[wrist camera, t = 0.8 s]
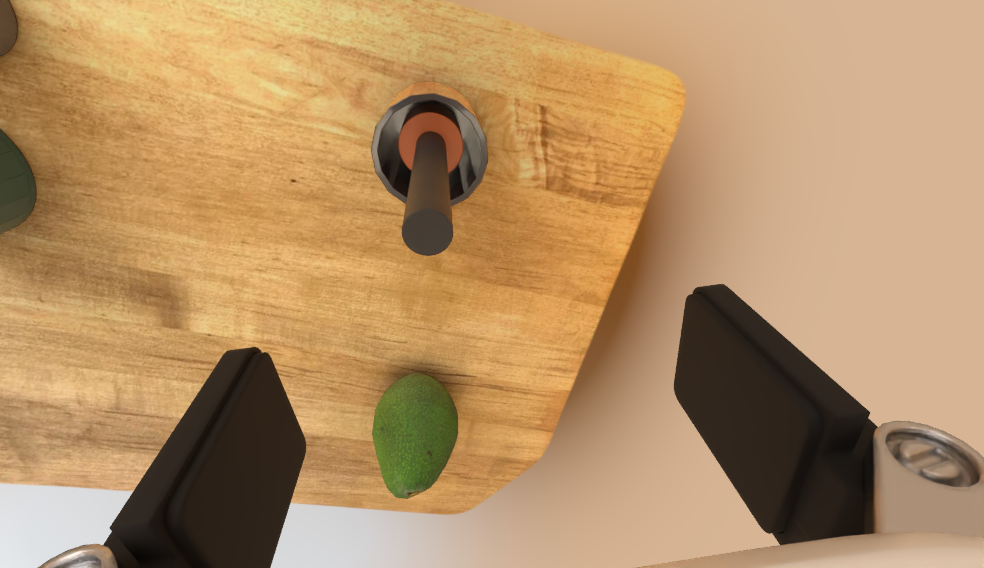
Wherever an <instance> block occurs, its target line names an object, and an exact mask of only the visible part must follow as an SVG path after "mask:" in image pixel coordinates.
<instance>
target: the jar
mask: <svg viewBox="0 0 984 568" xmlns="http://www.w3.org/2000/svg"><path fill="white" fill-rule="evenodd" d="M35 200H36V186H35V181H34V177H33V174H32V172H31V169H30V167H29V165H28V163H27V161H26V160H25V158H24V156H23V155H22V153H21V152H20V151H19V149H18V148H17V147H16V146H15V144H14V143H13V142H12V141H11V140H10V139H9V138H8V137H7V136H6V135H5V134H4V133H3V132H2V131H1V130H0V234H1V233H3V232H5V231H8V230H10V229H12V228H14V227H16V226H17V225H19V224H21V223H22V222H23V221H25V220H26V218H27V217H28V216H29V215H30V213H31V211H32V210H33V207H34V204H35Z"/></svg>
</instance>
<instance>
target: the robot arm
mask: <svg viewBox="0 0 984 568" xmlns="http://www.w3.org/2000/svg"><path fill="white" fill-rule="evenodd" d="M678 352H679V353H678V359H677V366H676V373H675V380H674V391H675V395H676V397H677V400H678V401H679V403H680V404H681V406H682V407H683V409H684V410H685V412H686V414H687V415H688V417H689V418H690V420H691V421H692V423H693V424H694V426H695V427H696V429H697V430H698V432H699V433H700V435H701V436H702V438H703V439H704V441H705V443H706V444H707V446H708V447H709V449H710V450H711V452H712V453H713V455H714V456H715V458H716V460H717V461H718V463H719V464H720V465H721V467H722V469H723V470H724V472H725V473H726V475H727V476H728V478H729V479H730V481H731V482H732V484H733V486H734V487H735V489H736V490H737V491H738V493H739V495H740V496H741V498H742V499H743V501H744V502H745V504H746V505H747V507H748V508H749V510H750V512H751V513H752V515H753V516H754V518H755V519H756V521H757V522H758V524H759V525H760V527H761V528H762V529H763V530H764V531H765V532H767V533H769V534H770V533H773V535H774V536H775V538H776V539H777V541H778V542H779V544H780V545H779V546H772V547H764V548H758V549H752V550H744V551H738V552H732V553H726V554H719V555H713V556H707V557H700V558H694V559H688V560H682V561H675V562H669V563H663V564H657V565H650V566H644V567H638V568H984V458H983V457H982V456H981V454H980V453H979V452H977V451H976V450H975V449H973V448H972V447H970V446H969V445H968V444H966V443H965V442H964V441H962V440H960V439H958V438H956V437H955V436H953V435H951V434H948V433H947V432H945V431H942V430H939V429H937V428H934V427H931V426H928V425H925V424H920V423H915V422H910V421H892V422H888V423H884V424H882V425H881V426H879V427H877V426H876V425H875V424H874V423H873V422H872V421H871V420H870V419H868V417H869V414H870V412H869V411H868V410H867V409H866V408H865V407H863V406H862V405H861V404H860V403H859V402H858V401H857V400H855V399H854V398H853V397H852V396H851V395H850V394H849V393H847V392H846V391H845V390H844V389H843V388H842V387H841V386H839V385H838V384H837V383H836V382H835V381H834V380H833V379H831V378H830V377H829V376H828V375H827V374H826V373H825V372H824V371H822V370H821V369H820V368H819V367H818V366H817V365H816V364H814V363H813V362H812V361H811V360H810V359H809V358H808V357H806V356H805V355H804V354H803V353H802V352H801V351H799V350H798V349H797V348H796V347H795V346H794V345H793V344H792V343H791V342H790V341H788V340H787V339H786V338H785V337H784V336H783V335H782V334H780V333H779V332H778V331H777V330H776V329H775V328H773V327H772V326H771V325H770V324H769V323H768V322H767V321H766V320H764V319H763V318H762V317H761V316H760V315H759V314H758V313H757V312H755V311H754V310H753V309H752V308H751V307H750V306H749V305H747V304H746V303H745V302H744V301H743V300H741V299H740V297H738V296H737V295H736V294H735V293H734V292H733V291H732V290H730V289H729V288H728V287H727V286H725V285H724V284H718V285H710V286H703V287H697V288H695V290H694V291H693V294H691V295H688V296H687V298H686V302H685V309H684V316H683V323H682V330H681V338H680V344H679V351H678ZM305 453H306V442H305V438H304V435H303V433H302V430H301V428H300V426H299V423H298V421H297V418H296V416H295V414H294V411H293V409H292V407H291V404H290V402H289V399H288V397H287V395H286V392H285V390H284V388H283V385H282V383H281V380H280V378H279V376H278V373H277V371H276V368H275V366H274V364H273V361H272V359H271V357H270V355H269V354H268V353H266V352H264V353H262V352H261V350H260V349H258V348H256V347H251V348H244V349H237V350H230V351H227V352H226V353H225V354H224V355H223V356H222V358H221V359H220V361H219V362H218V364H217V365H216V367H215V368H214V370H213V371H212V373H211V375H210V376H209V378H208V379H207V381H206V382H205V384H204V385H203V387H202V388H201V390H200V391H199V393H198V394H197V396H196V397H195V399H194V400H193V402H192V403H191V405H190V406H189V408H188V409H187V411H186V413H185V414H184V416H183V417H182V419H181V420H180V422H179V423H178V425H177V426H176V428H175V429H174V431H173V432H172V434H171V435H170V437H169V438H168V440H167V441H166V443H165V444H164V446H163V447H162V449H161V451H160V452H159V454H158V455H157V457H156V458H155V460H154V461H153V463H152V464H151V466H150V467H149V469H148V470H147V472H146V473H145V475H144V476H143V478H142V479H141V481H140V482H139V484H138V485H137V487H136V489H135V490H134V492H133V493H132V495H131V496H130V498H129V499H128V501H127V502H126V504H125V505H124V507H123V508H122V510H121V511H120V513H119V514H118V516H117V517H116V519H115V520H114V522H113V523H112V525H111V527H110V529H111V530H112V532H111V534H110V535H109V537H108V538H107V540H106V542H105V543H104V545H100V544H90V545H82V546H79V547H76V548H73V549H70V550H67V551H65V552H63V553H62V554H59V555H58V556H56V557H54V558H52V559H50V560H48V561H47V562H45V563H44V564H42V565H41V566H40V567H38V568H270V567H271V563H272V560H273V557H274V554H275V551H276V547H277V544H278V541H279V538H280V534H281V531H282V528H283V525H284V522H285V518H286V515H287V512H288V509H289V505H290V502H291V499H292V496H293V493H294V489H295V486H296V483H297V480H298V476H299V473H300V470H301V467H302V463H303V460H304V457H305Z"/></svg>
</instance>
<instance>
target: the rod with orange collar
mask: <svg viewBox="0 0 984 568" xmlns="http://www.w3.org/2000/svg"><path fill="white" fill-rule="evenodd" d="M398 148H399V153H400V156H401V158H402V160H403V162H404V163H405V165H406V166H407V167H408V168H409V169H410V170H411V171H412V172H411V178H410V184H409V190H408V196H407V202H406V208H405V214H404V220H403V226H402V237H403V240H404V242H405V244H406V245H407V246H408V247H409V248H410V249H411V250H412V251H414V252H415V253H418V254H420V255H426V256H430V255H436V254H438V253H441V252H442V251H444V250H445V249H446V248H447V247H448V246H449V245H450V243H451V241H452V238H453V224H452V212H451V201H450V189H449V177H448V173H450V172H451V171H452V170H454V169H455V167H456V166H457V165H458V164H459V162H460V160H461V157H462V154H463V138H462V134H461V130H460V126H459V123H458V121H457V119H456V118H455V116H454V115H453V114H452V113H451V112H450V111H449V110H448V109H447V108H445V107H443V106H441V105H438V104H432V103H428V104H422V105H419V106H417V107H415V108H414V109H412V110H411V111H410V112H409V113H408V115H407V116H406V118H405V120H404V122H403V125H402V128H401V131H400V134H399V139H398Z"/></svg>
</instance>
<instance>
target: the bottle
mask: <svg viewBox="0 0 984 568" xmlns="http://www.w3.org/2000/svg"><path fill="white" fill-rule="evenodd" d="M16 36H17V23H16V18H15V15H14V12H13V9H12V7H11V4H10V3H9V1H8V0H0V56H2V55H4V54H6V53H7V52H8V51H9V50H10V49H11V48H12V46H13V45H14V43H15V40H16Z"/></svg>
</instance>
